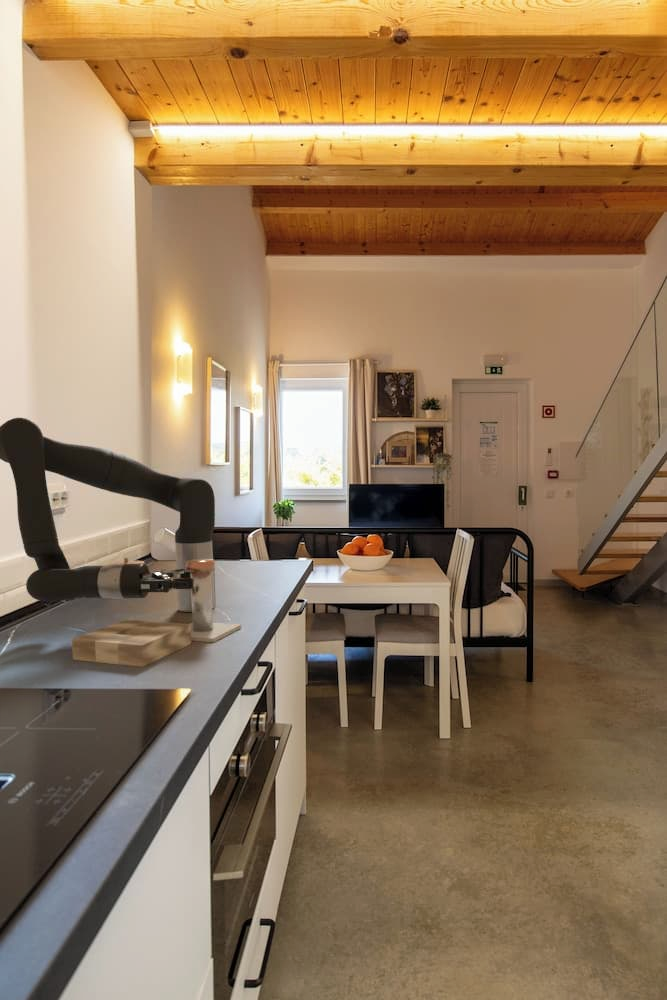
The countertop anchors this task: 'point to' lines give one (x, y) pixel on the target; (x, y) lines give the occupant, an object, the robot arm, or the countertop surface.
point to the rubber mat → (214, 632)
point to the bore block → (131, 642)
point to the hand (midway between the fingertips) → (197, 579)
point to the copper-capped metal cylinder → (201, 593)
